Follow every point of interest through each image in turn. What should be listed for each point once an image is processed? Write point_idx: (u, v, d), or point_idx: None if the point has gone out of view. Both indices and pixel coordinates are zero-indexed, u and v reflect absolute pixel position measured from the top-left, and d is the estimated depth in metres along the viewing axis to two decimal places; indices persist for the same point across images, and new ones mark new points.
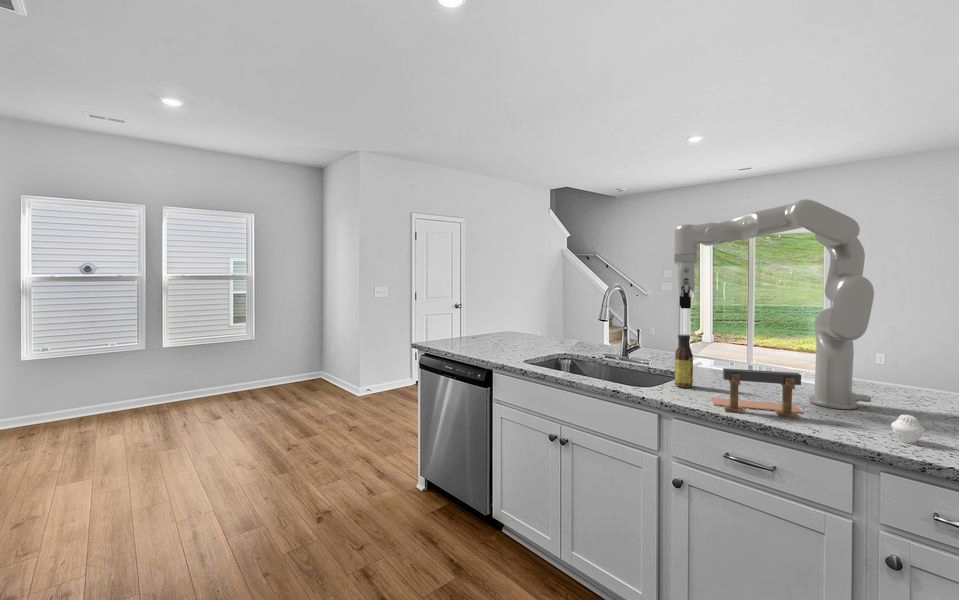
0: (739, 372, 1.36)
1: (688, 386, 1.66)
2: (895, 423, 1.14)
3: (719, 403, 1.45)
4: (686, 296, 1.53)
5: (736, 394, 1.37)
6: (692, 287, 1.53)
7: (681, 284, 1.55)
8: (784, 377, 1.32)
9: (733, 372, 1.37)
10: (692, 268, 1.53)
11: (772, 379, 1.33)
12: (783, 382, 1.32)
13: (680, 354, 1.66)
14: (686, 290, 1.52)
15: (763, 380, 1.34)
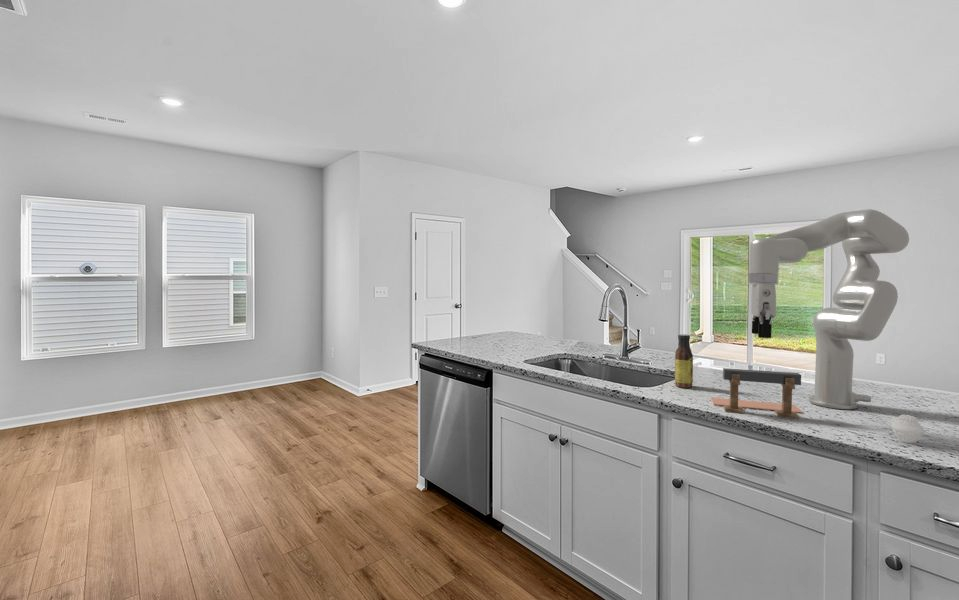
0: (739, 372, 1.36)
1: (688, 386, 1.66)
2: (895, 423, 1.14)
3: (719, 403, 1.45)
4: (766, 323, 1.29)
5: (736, 394, 1.37)
6: (773, 313, 1.29)
7: (759, 309, 1.30)
8: (784, 377, 1.32)
9: (733, 372, 1.37)
10: (773, 290, 1.29)
11: (772, 379, 1.33)
12: (783, 382, 1.32)
13: (680, 354, 1.66)
14: (767, 317, 1.27)
15: (763, 380, 1.34)
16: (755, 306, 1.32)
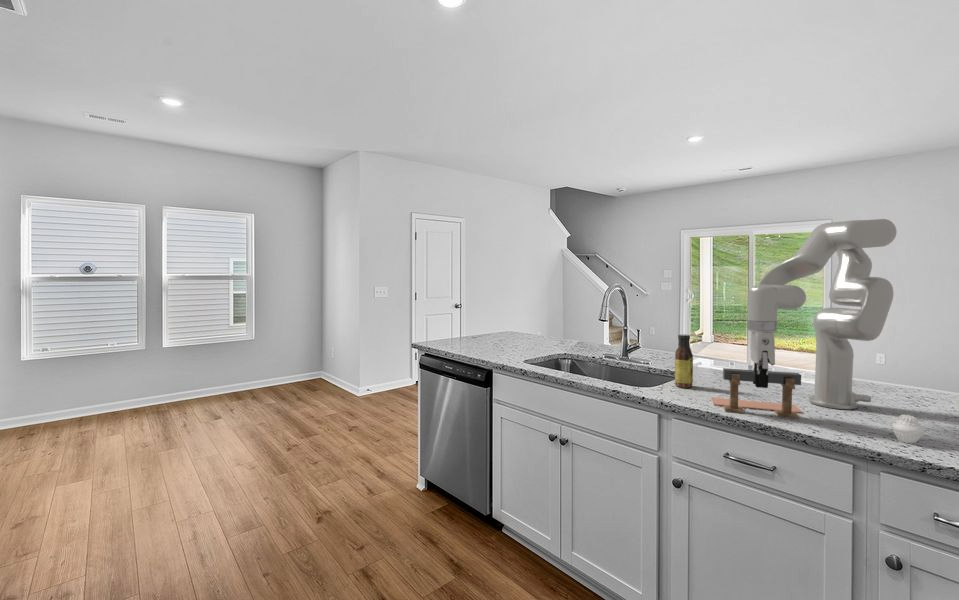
0: (739, 372, 1.36)
1: (688, 386, 1.66)
2: (895, 423, 1.14)
3: (719, 403, 1.45)
4: (763, 375, 1.33)
5: (736, 394, 1.37)
6: (772, 361, 1.30)
7: None
8: (784, 377, 1.32)
9: (733, 372, 1.37)
10: (772, 339, 1.30)
11: (772, 379, 1.33)
12: (783, 382, 1.32)
13: (680, 354, 1.66)
14: (764, 370, 1.31)
15: None
16: (754, 353, 1.33)
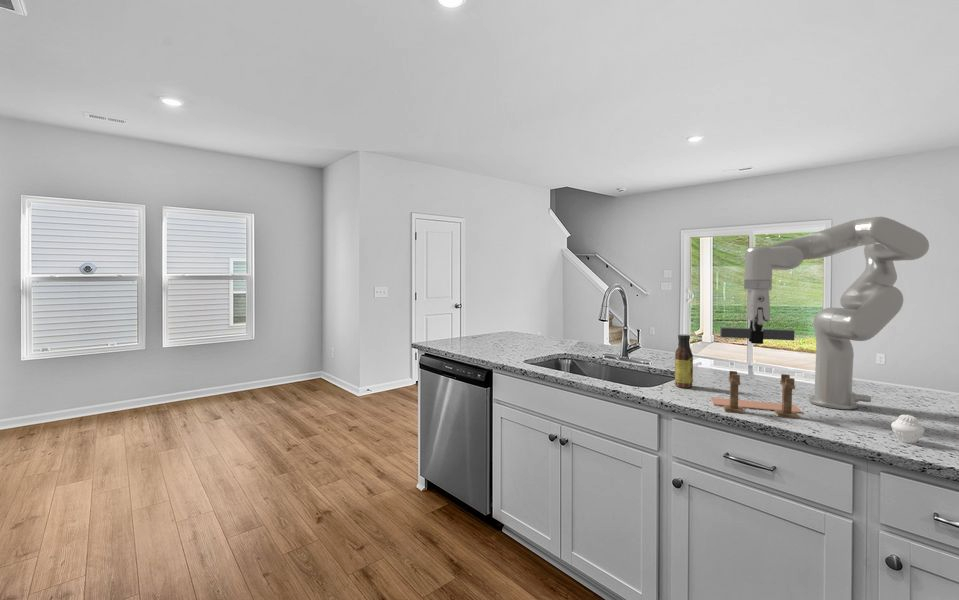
0: (735, 329, 1.43)
1: (688, 386, 1.66)
2: (895, 423, 1.14)
3: (719, 403, 1.45)
4: (758, 331, 1.40)
5: (736, 394, 1.37)
6: (767, 317, 1.37)
7: None
8: (778, 333, 1.39)
9: (730, 330, 1.44)
10: (767, 296, 1.37)
11: (767, 335, 1.40)
12: (777, 338, 1.39)
13: (680, 354, 1.66)
14: (759, 326, 1.38)
15: None
16: (750, 311, 1.40)
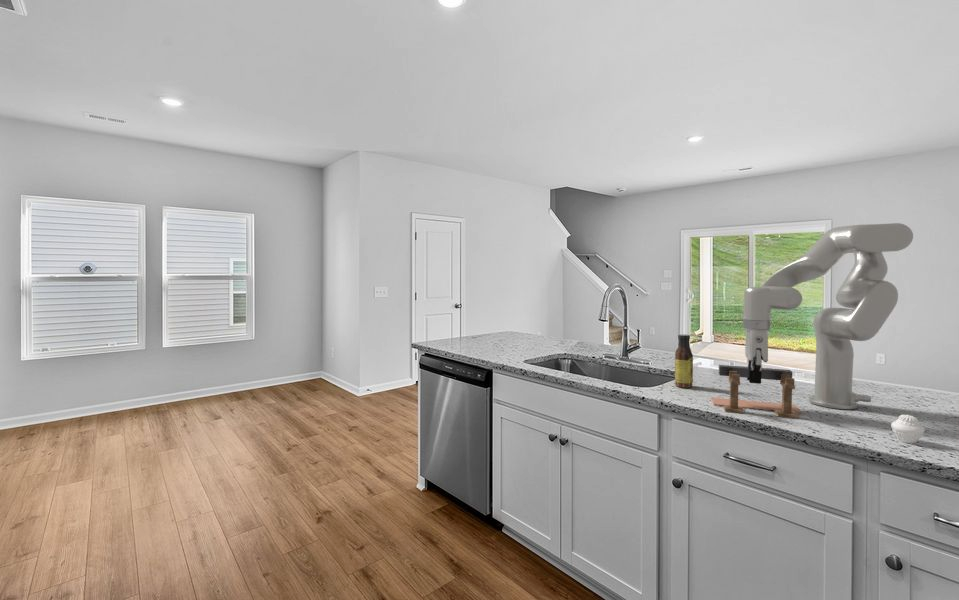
0: (734, 368, 1.44)
1: (688, 386, 1.66)
2: (895, 423, 1.14)
3: (719, 403, 1.45)
4: (756, 371, 1.40)
5: (736, 394, 1.37)
6: (765, 358, 1.37)
7: None
8: (776, 374, 1.39)
9: (728, 368, 1.44)
10: (766, 337, 1.37)
11: (765, 375, 1.41)
12: (775, 378, 1.40)
13: (680, 354, 1.66)
14: (757, 366, 1.38)
15: None
16: (748, 351, 1.41)
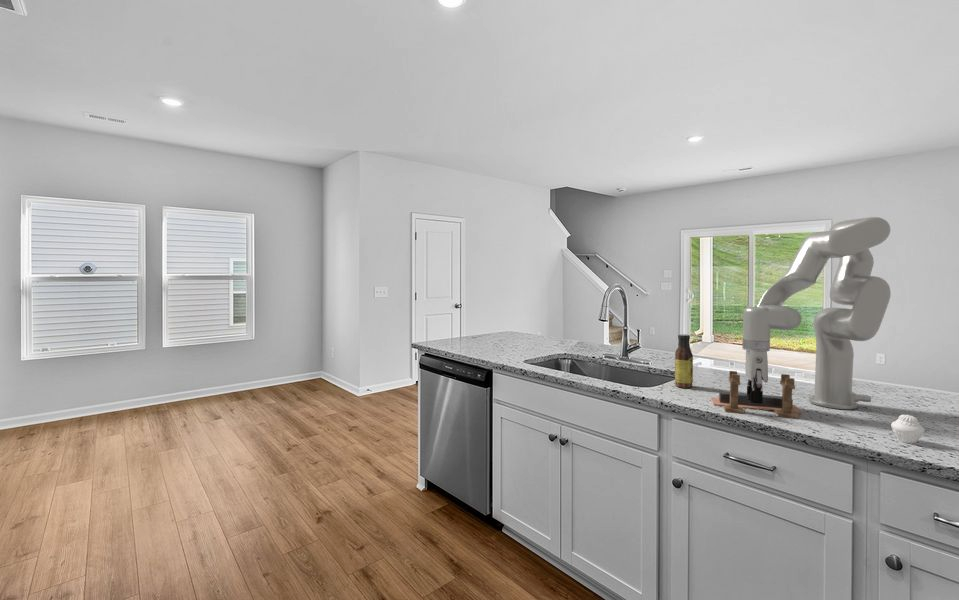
0: None
1: (688, 386, 1.66)
2: (895, 423, 1.14)
3: (719, 403, 1.45)
4: (757, 391, 1.39)
5: (736, 394, 1.37)
6: (766, 379, 1.38)
7: (752, 378, 1.39)
8: (777, 401, 1.40)
9: (729, 396, 1.45)
10: (765, 357, 1.38)
11: (765, 403, 1.41)
12: (776, 406, 1.40)
13: (680, 354, 1.66)
14: (759, 386, 1.38)
15: (757, 404, 1.42)
16: (748, 371, 1.41)
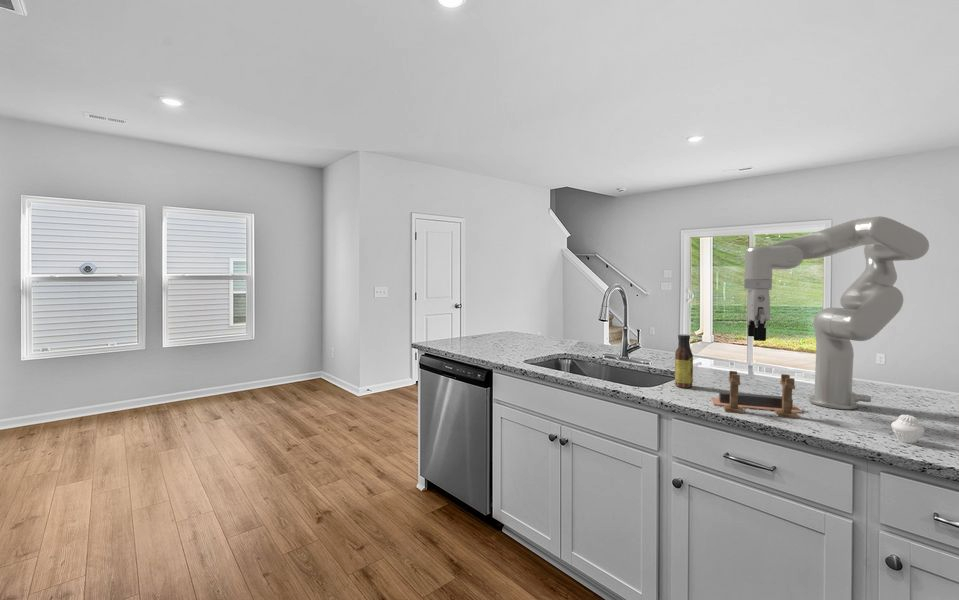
0: None
1: (688, 386, 1.66)
2: (895, 423, 1.14)
3: (719, 403, 1.45)
4: (761, 327, 1.36)
5: (736, 394, 1.37)
6: (768, 317, 1.37)
7: (754, 313, 1.38)
8: (777, 401, 1.40)
9: (729, 396, 1.45)
10: (767, 296, 1.37)
11: (765, 403, 1.41)
12: (776, 406, 1.40)
13: (680, 354, 1.66)
14: (762, 321, 1.35)
15: (757, 404, 1.42)
16: (750, 311, 1.40)
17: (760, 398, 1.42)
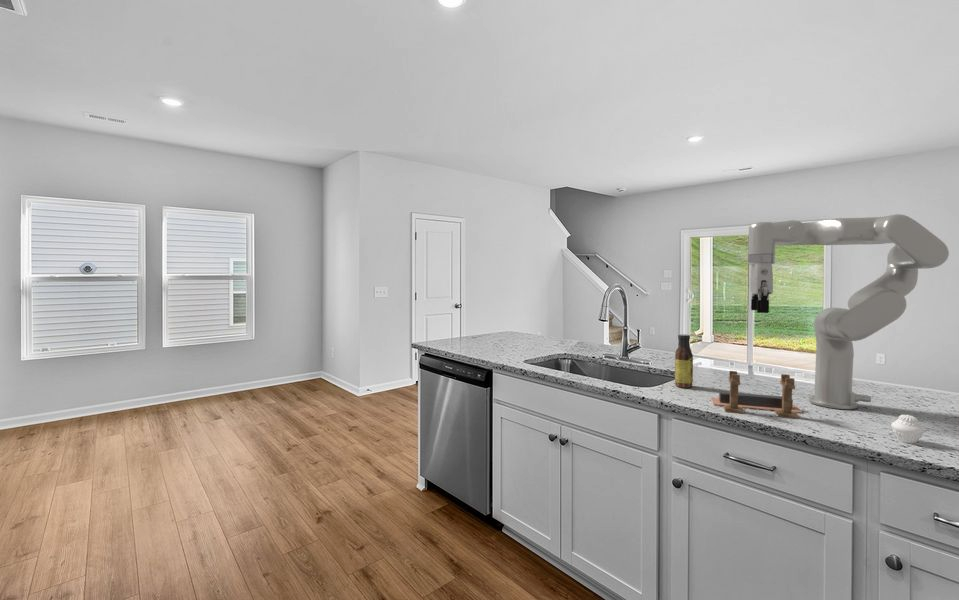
0: None
1: (688, 386, 1.66)
2: (895, 423, 1.14)
3: (719, 403, 1.45)
4: (764, 299, 1.42)
5: (736, 394, 1.37)
6: (771, 290, 1.42)
7: (758, 286, 1.43)
8: (777, 401, 1.40)
9: (729, 396, 1.45)
10: (770, 269, 1.42)
11: (765, 403, 1.41)
12: (776, 406, 1.40)
13: (680, 354, 1.66)
14: (765, 293, 1.40)
15: (757, 404, 1.42)
16: (754, 284, 1.45)
17: (760, 398, 1.42)
